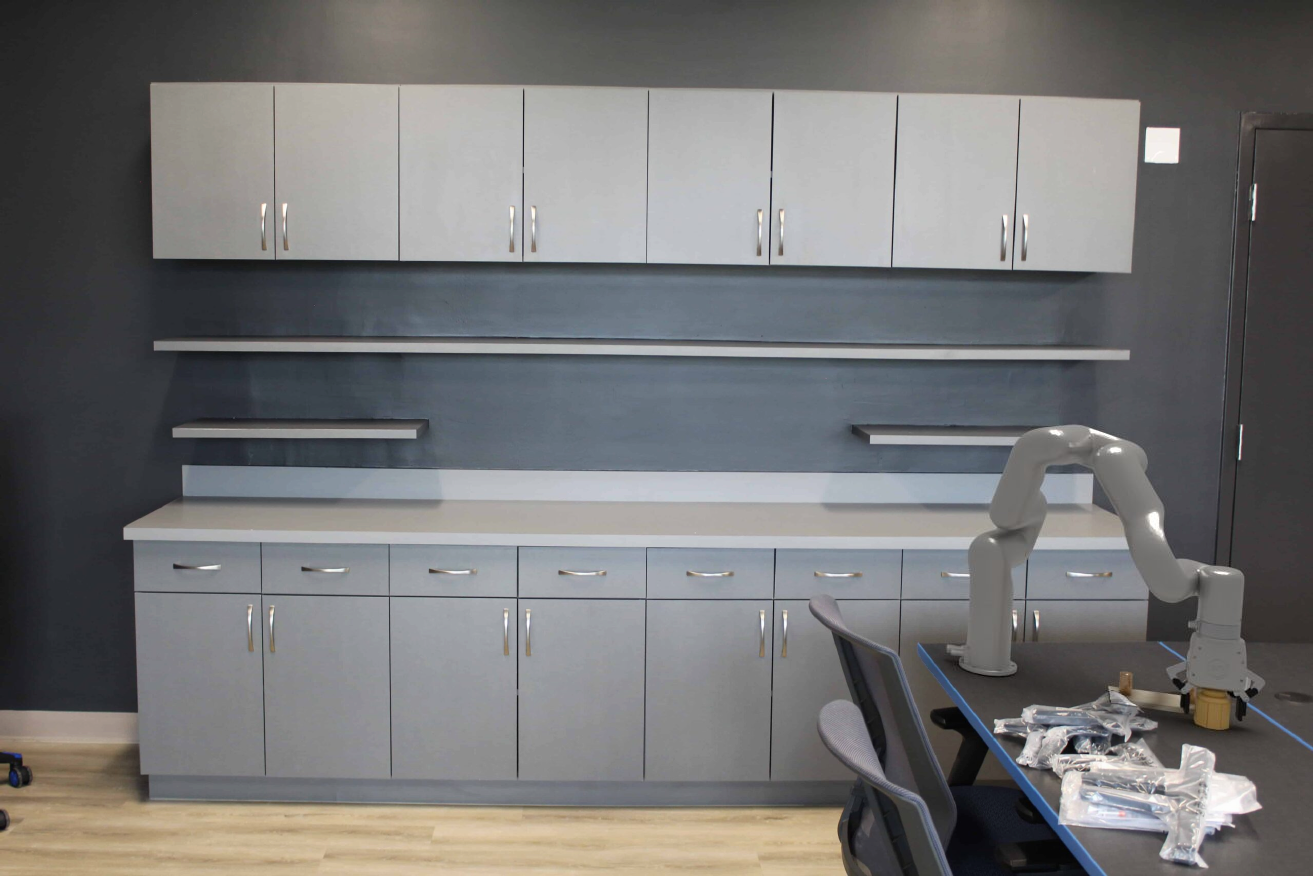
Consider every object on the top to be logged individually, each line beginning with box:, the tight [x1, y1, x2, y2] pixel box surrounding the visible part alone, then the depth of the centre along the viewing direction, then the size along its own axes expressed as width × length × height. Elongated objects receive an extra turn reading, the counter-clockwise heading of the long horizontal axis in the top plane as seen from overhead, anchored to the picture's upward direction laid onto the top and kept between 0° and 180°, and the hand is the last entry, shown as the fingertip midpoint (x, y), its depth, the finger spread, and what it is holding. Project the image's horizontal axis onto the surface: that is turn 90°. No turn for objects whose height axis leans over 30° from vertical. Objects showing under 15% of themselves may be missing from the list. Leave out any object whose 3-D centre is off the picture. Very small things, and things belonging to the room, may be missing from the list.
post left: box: [1118, 670, 1134, 696], centre depth 209 cm, size 2×2×4 cm
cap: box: [1193, 687, 1232, 731], centre depth 196 cm, size 6×6×7 cm
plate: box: [1107, 685, 1195, 716], centre depth 207 cm, size 18×8×1 cm, turn 69°
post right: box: [1189, 686, 1198, 705], centre depth 205 cm, size 2×2×4 cm
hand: (1212, 715), depth 196 cm, fingers open, 8 cm apart
